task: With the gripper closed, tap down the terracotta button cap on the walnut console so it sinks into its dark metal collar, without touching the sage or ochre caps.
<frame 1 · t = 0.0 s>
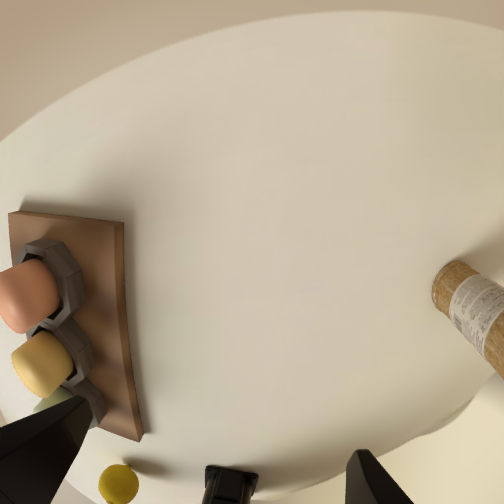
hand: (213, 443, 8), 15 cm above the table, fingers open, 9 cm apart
lemon: (129, 464, 32), on the table
button terracotta: (25, 295, 18), point 6 cm above the table, slide at 0.0 cm
button ochre: (42, 364, 20), point 6 cm above the table, slide at 0.0 cm
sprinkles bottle: (450, 284, 20), on the table
button sage: (60, 415, 22), point 6 cm above the table, slide at 0.0 cm
console: (74, 336, 26), on the table
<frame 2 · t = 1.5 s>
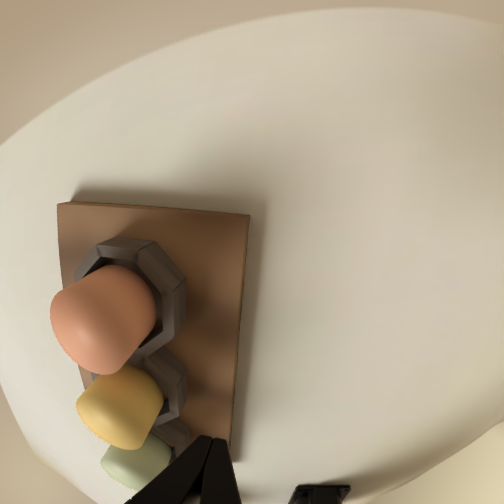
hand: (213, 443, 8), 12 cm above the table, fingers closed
button terracotta: (103, 317, 15), point 6 cm above the table, slide at 0.0 cm
button ochre: (120, 406, 16), point 6 cm above the table, slide at 0.0 cm
button sage: (136, 460, 18), point 6 cm above the table, slide at 0.0 cm
console: (150, 362, 22), on the table
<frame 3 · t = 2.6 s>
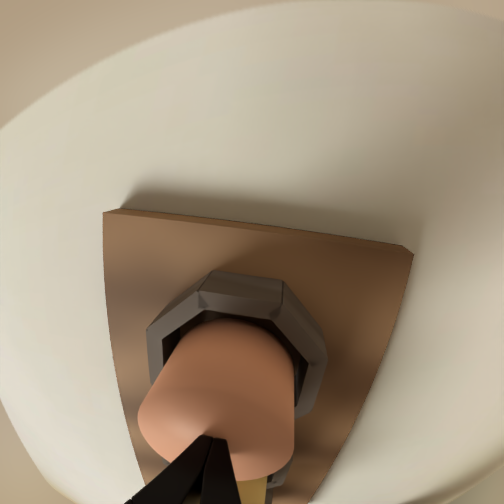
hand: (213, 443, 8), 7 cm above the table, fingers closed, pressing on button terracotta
button terracotta: (223, 402, 10), point 5 cm above the table, slide at 0.3 cm, touching gripper
button ochre: (216, 491, 11), point 6 cm above the table, slide at 0.0 cm
console: (233, 420, 17), on the table
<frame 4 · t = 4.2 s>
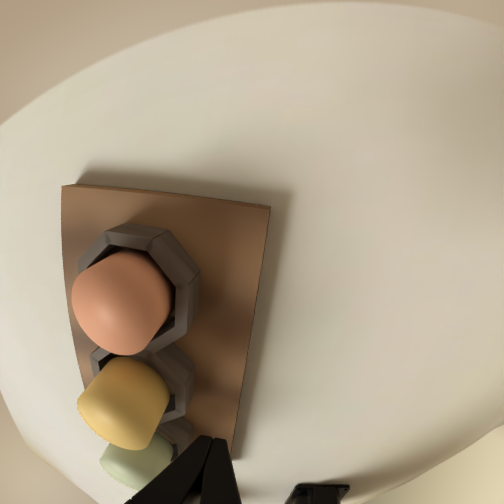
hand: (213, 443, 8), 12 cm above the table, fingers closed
button terracotta: (126, 298, 15), point 4 cm above the table, slide at 1.7 cm
button ochre: (124, 404, 16), point 6 cm above the table, slide at 0.0 cm
button sage: (137, 458, 18), point 6 cm above the table, slide at 0.0 cm
console: (155, 356, 21), on the table
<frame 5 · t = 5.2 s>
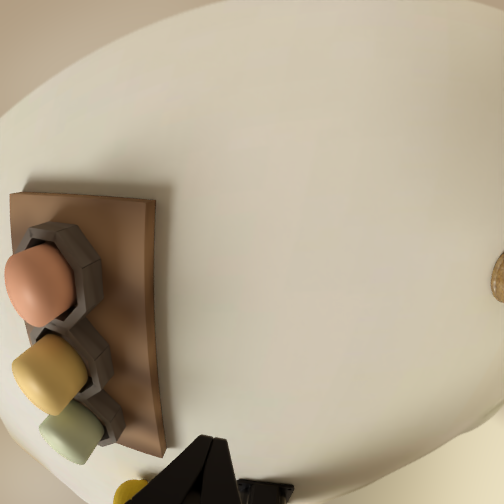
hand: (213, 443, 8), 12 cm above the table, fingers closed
lemon: (145, 479, 28), on the table
button terracotta: (44, 281, 16), point 4 cm above the table, slide at 1.7 cm
button ochre: (49, 374, 17), point 6 cm above the table, slide at 0.0 cm
button sage: (71, 432, 19), point 6 cm above the table, slide at 0.0 cm
console: (86, 339, 22), on the table
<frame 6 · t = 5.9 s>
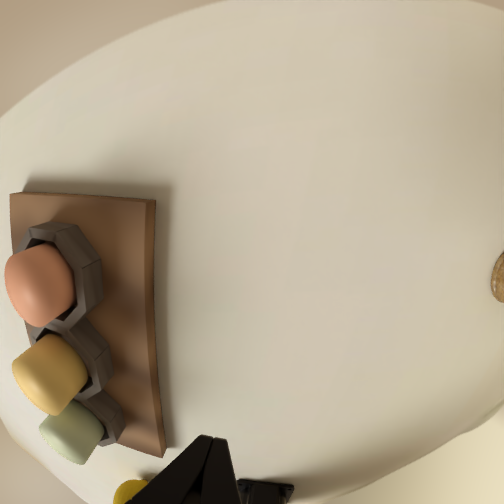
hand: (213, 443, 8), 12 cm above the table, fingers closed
lemon: (145, 479, 28), on the table
button terracotta: (44, 281, 16), point 4 cm above the table, slide at 1.7 cm
button ochre: (49, 374, 17), point 6 cm above the table, slide at 0.0 cm
button sage: (71, 432, 19), point 6 cm above the table, slide at 0.0 cm
console: (86, 339, 22), on the table
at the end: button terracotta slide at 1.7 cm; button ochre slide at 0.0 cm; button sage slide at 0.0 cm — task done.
